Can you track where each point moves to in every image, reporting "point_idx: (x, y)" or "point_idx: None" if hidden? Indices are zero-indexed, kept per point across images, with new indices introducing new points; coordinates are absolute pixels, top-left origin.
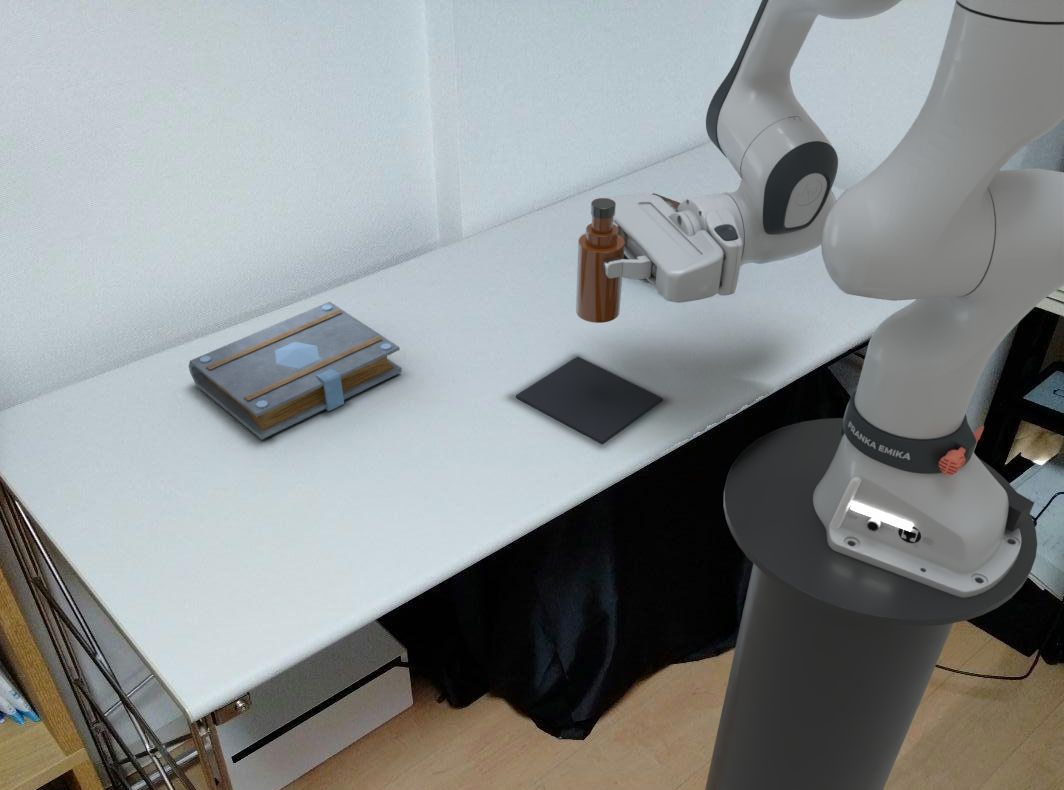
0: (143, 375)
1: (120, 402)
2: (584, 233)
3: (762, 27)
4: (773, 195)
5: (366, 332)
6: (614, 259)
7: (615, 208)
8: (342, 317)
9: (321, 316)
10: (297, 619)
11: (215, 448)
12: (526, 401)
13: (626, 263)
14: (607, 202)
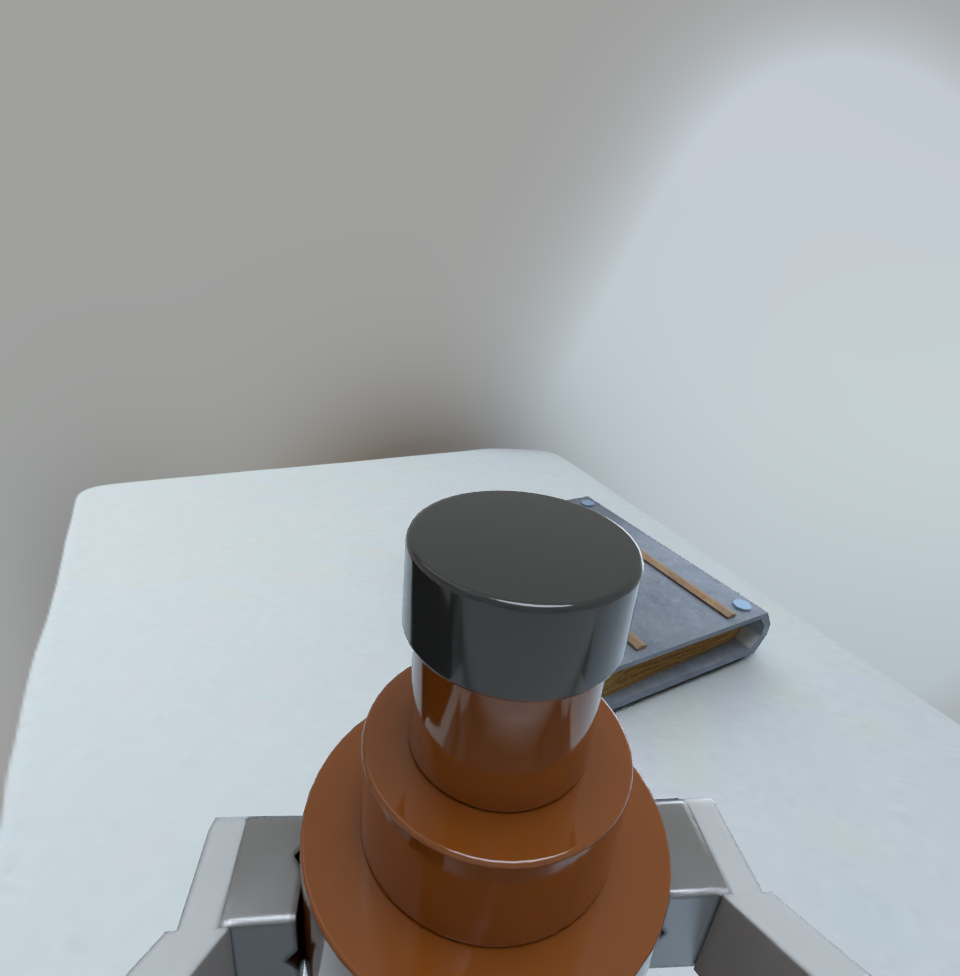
0: (612, 508)
1: (561, 495)
2: (698, 803)
3: None
4: None
5: (664, 636)
6: (257, 872)
7: (464, 631)
8: (714, 618)
9: (713, 598)
10: (109, 544)
11: None
12: None
13: (141, 960)
14: (538, 561)
